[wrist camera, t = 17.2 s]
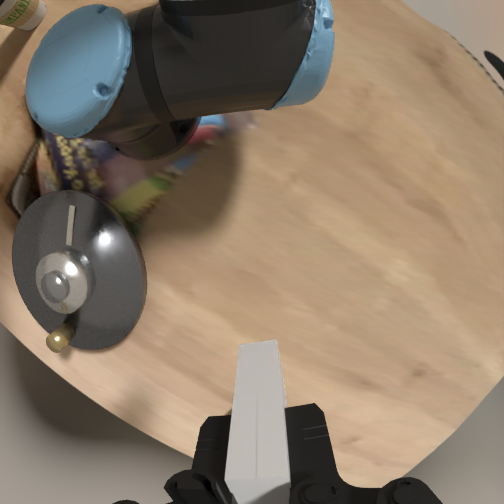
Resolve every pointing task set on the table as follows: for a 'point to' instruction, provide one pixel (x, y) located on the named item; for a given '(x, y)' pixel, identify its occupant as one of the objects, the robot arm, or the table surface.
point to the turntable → (99, 255)
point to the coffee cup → (22, 13)
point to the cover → (65, 280)
